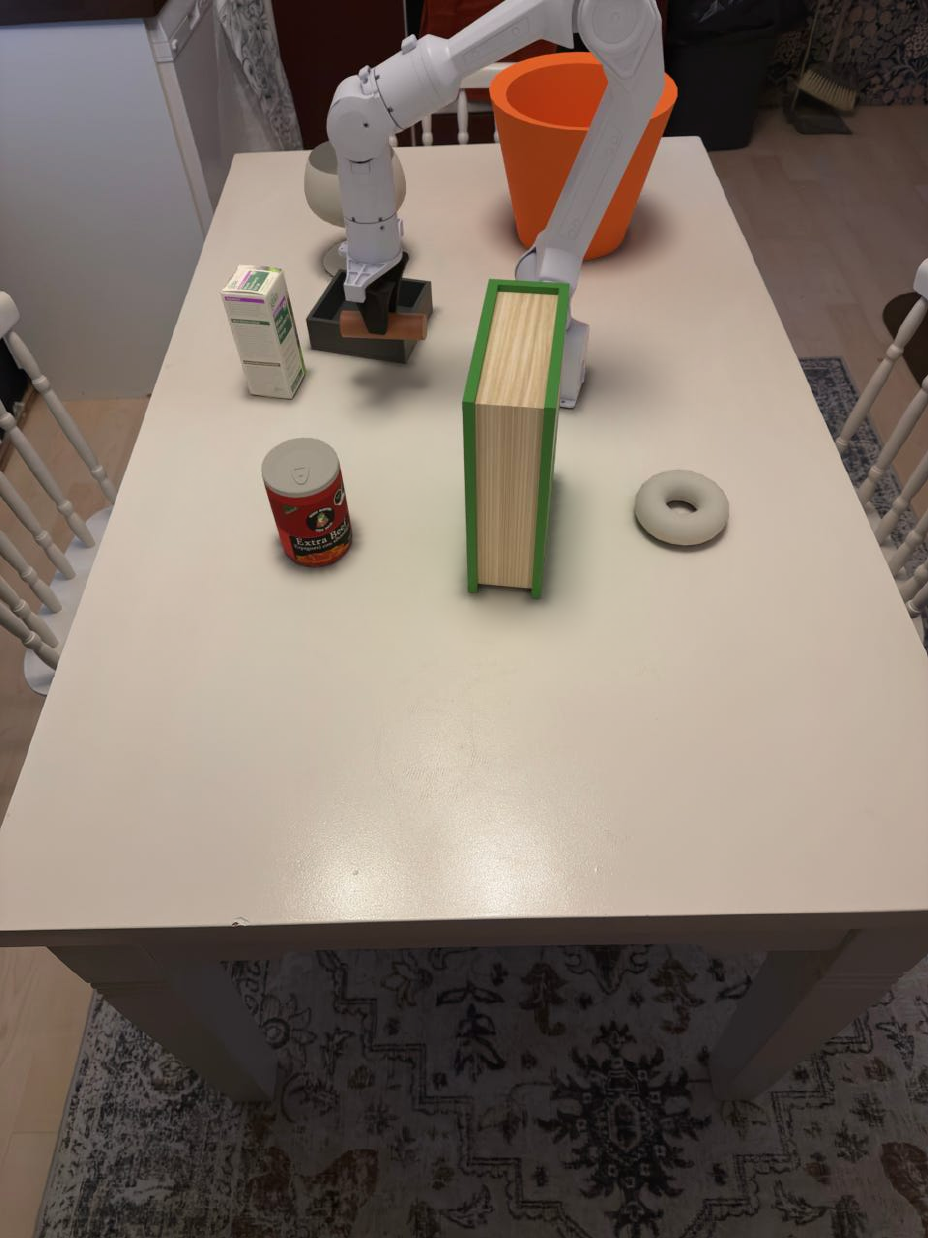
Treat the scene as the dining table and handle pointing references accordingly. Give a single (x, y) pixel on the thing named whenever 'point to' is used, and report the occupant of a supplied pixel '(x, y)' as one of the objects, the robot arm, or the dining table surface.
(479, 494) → the hardback book
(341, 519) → the canned food
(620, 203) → the flowerpot
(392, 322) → the wooden dowel
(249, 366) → the syrup box
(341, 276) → the bin
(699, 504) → the donut
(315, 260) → the dining table surface
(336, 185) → the chalice
